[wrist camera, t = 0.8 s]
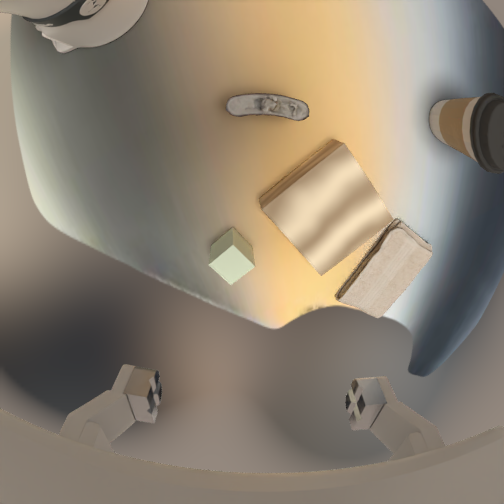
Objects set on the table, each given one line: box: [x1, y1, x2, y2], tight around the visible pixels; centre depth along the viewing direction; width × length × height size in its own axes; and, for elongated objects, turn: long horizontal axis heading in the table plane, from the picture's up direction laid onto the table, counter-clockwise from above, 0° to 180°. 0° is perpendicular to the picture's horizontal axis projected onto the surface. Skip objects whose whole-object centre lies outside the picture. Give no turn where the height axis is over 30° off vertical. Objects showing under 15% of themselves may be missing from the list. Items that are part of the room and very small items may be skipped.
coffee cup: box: [429, 93, 504, 174], centre depth 32 cm, size 11×11×15 cm
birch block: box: [259, 139, 393, 276], centre depth 42 cm, size 14×14×5 cm
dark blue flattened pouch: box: [226, 93, 309, 121], centre depth 32 cm, size 9×3×11 cm, turn 87°
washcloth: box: [336, 219, 433, 318], centre depth 50 cm, size 12×18×3 cm, turn 150°
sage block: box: [209, 227, 255, 285], centre depth 44 cm, size 4×4×6 cm
